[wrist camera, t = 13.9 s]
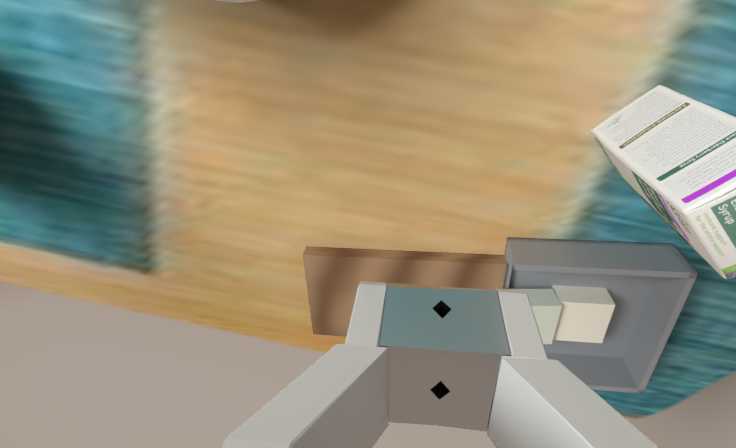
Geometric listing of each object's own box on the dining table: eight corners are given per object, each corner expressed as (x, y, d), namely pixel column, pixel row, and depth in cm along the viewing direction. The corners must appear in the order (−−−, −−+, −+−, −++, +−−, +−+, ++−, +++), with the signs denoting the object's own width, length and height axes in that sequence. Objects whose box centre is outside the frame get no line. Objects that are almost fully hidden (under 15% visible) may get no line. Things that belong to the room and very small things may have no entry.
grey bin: (672, 243, 38) (698, 272, 35) (625, 359, 46) (642, 393, 42) (507, 237, 40) (515, 264, 36) (489, 349, 48) (494, 381, 44)
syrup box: (587, 130, 34) (677, 218, 22) (661, 80, 32) (810, 148, 19) (622, 179, 36) (723, 286, 24) (695, 135, 33) (851, 230, 21)
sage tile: (552, 288, 41) (561, 305, 39) (543, 326, 44) (551, 344, 42) (501, 288, 41) (507, 305, 39) (495, 325, 44) (500, 344, 42)
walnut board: (504, 255, 41) (507, 264, 40) (491, 336, 47) (493, 346, 46) (306, 246, 44) (302, 254, 42) (316, 324, 49) (313, 333, 48)
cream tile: (605, 287, 41) (615, 304, 39) (593, 325, 44) (601, 343, 42) (552, 285, 42) (559, 301, 40) (543, 322, 44) (549, 339, 42)
